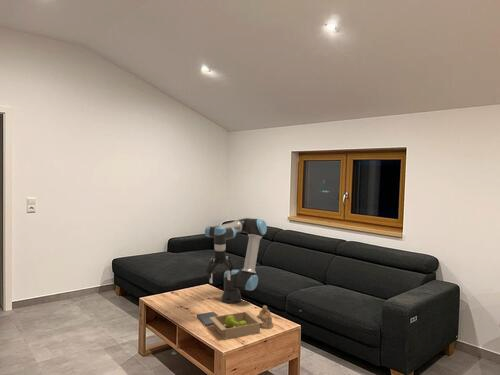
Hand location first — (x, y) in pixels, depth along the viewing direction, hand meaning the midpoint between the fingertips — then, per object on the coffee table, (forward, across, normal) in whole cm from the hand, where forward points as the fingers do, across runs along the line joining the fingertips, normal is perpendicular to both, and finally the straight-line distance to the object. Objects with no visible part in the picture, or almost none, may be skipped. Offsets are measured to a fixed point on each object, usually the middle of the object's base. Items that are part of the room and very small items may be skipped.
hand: (220, 281), depth 261 cm
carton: (+25, 0, +21) cm, 33 cm away
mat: (+25, +7, -1) cm, 26 cm away
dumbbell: (+26, 0, +21) cm, 33 cm away
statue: (+26, -18, +26) cm, 41 cm away
